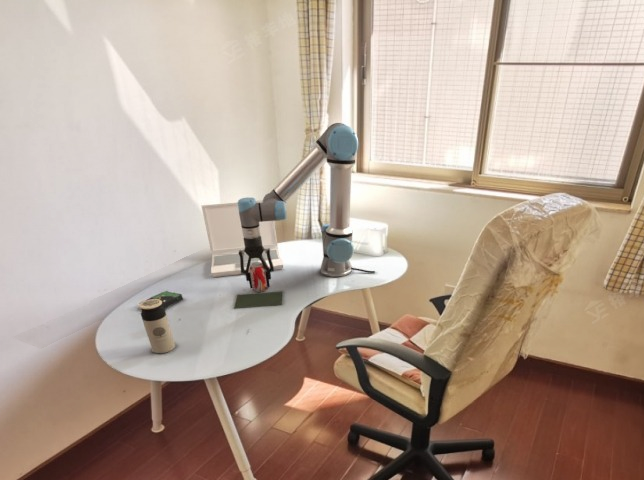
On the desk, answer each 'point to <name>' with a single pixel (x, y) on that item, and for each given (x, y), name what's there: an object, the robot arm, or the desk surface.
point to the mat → (258, 300)
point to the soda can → (258, 277)
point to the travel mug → (157, 326)
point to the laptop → (235, 239)
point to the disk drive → (167, 298)
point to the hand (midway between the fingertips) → (260, 286)
